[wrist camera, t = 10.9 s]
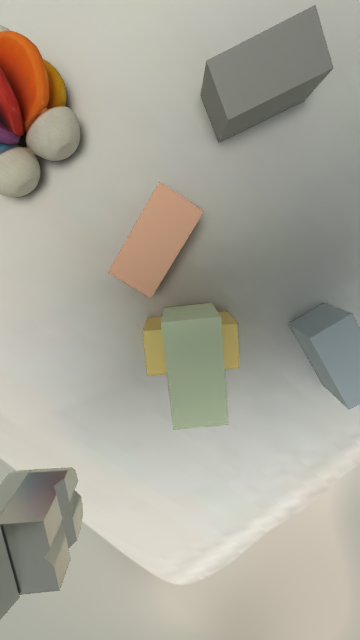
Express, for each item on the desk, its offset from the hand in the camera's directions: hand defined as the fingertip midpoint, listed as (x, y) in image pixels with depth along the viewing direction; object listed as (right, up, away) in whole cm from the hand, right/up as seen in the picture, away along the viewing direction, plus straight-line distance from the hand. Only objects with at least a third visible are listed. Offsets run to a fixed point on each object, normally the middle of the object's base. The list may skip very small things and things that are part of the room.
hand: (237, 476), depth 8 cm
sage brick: (0, +2, +15) cm, 15 cm away
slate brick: (+12, +2, +20) cm, 23 cm away
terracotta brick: (-3, +10, +18) cm, 21 cm away
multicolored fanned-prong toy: (-14, +18, +16) cm, 28 cm away
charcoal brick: (+4, +21, +15) cm, 26 cm away
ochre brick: (-1, +3, +20) cm, 20 cm away
